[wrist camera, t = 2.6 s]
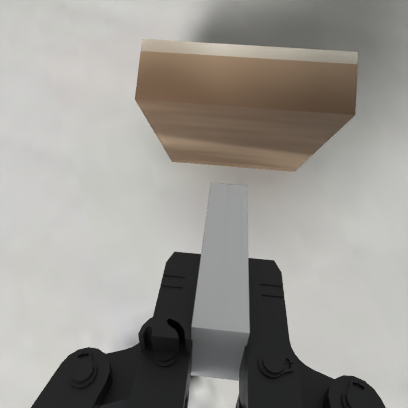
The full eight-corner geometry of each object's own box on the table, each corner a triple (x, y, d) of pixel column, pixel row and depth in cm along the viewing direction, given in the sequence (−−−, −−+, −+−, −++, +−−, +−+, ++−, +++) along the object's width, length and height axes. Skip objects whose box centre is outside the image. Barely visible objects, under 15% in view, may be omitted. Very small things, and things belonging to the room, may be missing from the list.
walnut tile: (175, 126, 27) (142, 39, 15) (296, 135, 27) (358, 51, 15) (172, 161, 27) (134, 99, 15) (294, 171, 26) (355, 115, 15)
